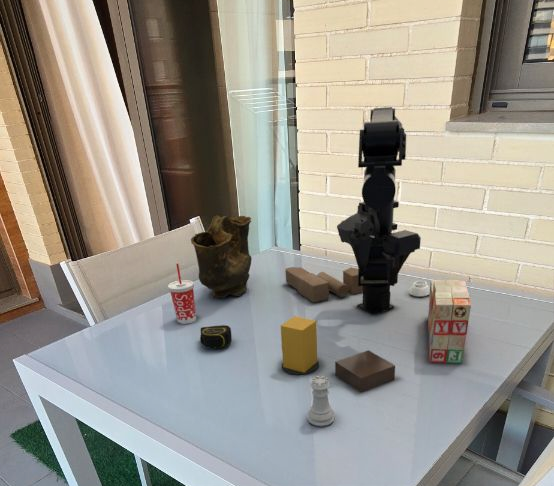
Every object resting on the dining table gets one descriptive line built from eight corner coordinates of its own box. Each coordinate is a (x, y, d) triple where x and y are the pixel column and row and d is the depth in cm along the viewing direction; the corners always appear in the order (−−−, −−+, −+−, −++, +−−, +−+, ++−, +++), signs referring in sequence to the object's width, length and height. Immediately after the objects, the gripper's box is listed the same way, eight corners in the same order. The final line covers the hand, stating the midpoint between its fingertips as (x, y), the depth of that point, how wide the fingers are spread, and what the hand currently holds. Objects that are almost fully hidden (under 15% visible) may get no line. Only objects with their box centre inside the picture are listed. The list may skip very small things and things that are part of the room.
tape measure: (232, 337, 122) (230, 321, 120) (232, 350, 116) (230, 334, 114) (202, 340, 122) (199, 324, 120) (200, 353, 116) (198, 337, 114)
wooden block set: (314, 283, 131) (283, 264, 145) (314, 305, 135) (285, 284, 149) (373, 269, 137) (338, 252, 150) (373, 290, 140) (338, 272, 154)
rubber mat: (274, 364, 110) (274, 362, 110) (306, 353, 113) (306, 352, 113) (294, 379, 104) (294, 377, 104) (326, 367, 107) (326, 366, 107)
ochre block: (296, 357, 111) (294, 316, 106) (317, 362, 109) (316, 320, 104) (283, 367, 108) (280, 325, 103) (304, 372, 105) (302, 330, 100)
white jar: (413, 289, 139) (406, 296, 135) (414, 278, 137) (407, 284, 134) (432, 292, 136) (425, 298, 133) (433, 280, 135) (426, 287, 131)
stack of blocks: (427, 319, 123) (432, 265, 116) (455, 319, 122) (462, 265, 115) (429, 363, 106) (435, 303, 99) (463, 364, 105) (471, 303, 98)
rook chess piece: (306, 414, 93) (304, 374, 89) (331, 412, 94) (331, 371, 89) (309, 429, 90) (308, 387, 85) (336, 426, 90) (336, 384, 85)
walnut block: (335, 375, 104) (335, 361, 103) (368, 363, 107) (368, 350, 106) (360, 392, 98) (360, 378, 97) (394, 379, 101) (395, 365, 100)
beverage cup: (169, 323, 131) (158, 266, 123) (182, 314, 136) (172, 258, 128) (191, 326, 129) (181, 268, 121) (203, 316, 133) (195, 259, 126)
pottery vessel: (228, 275, 158) (219, 204, 147) (263, 276, 155) (257, 204, 144) (191, 307, 139) (179, 228, 128) (230, 310, 135) (221, 229, 124)
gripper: (316, 196, 106) (318, 274, 114) (376, 212, 92) (373, 299, 101) (361, 187, 110) (360, 263, 119) (425, 201, 96) (418, 286, 105)
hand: (375, 277), depth 111 cm, fingers open, 9 cm apart
